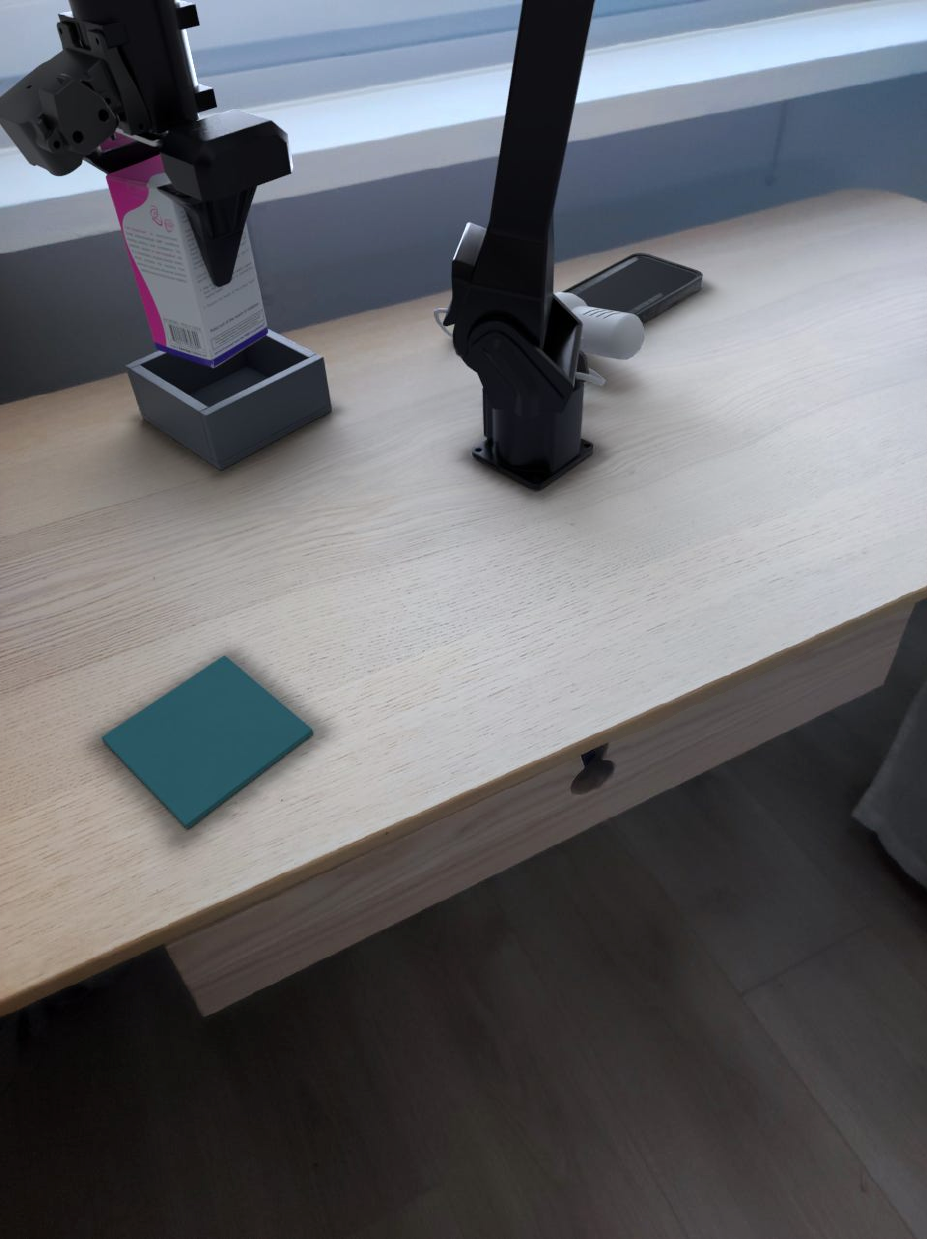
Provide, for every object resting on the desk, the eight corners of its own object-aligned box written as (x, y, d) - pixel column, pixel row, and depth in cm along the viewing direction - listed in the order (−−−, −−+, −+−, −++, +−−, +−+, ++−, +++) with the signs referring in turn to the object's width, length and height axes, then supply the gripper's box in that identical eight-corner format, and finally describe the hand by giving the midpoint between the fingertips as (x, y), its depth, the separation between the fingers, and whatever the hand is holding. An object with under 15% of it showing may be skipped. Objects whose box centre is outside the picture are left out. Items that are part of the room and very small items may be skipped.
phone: (534, 306, 79) (638, 250, 86) (534, 318, 80) (637, 261, 87) (605, 334, 75) (709, 273, 82) (604, 347, 76) (707, 285, 83)
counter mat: (313, 733, 48) (312, 729, 48) (187, 829, 44) (185, 825, 44) (226, 659, 52) (224, 654, 52) (103, 741, 48) (100, 736, 48)
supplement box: (272, 332, 64) (236, 159, 56) (213, 370, 60) (166, 191, 52) (213, 314, 66) (170, 145, 58) (152, 349, 63) (98, 175, 55)
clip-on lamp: (415, 386, 78) (562, 428, 66) (393, 316, 75) (545, 346, 62) (511, 327, 83) (666, 355, 70) (495, 258, 79) (656, 275, 67)
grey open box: (332, 410, 71) (324, 356, 68) (220, 471, 66) (205, 416, 62) (251, 365, 76) (239, 314, 73) (142, 418, 71) (124, 365, 68)
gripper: (-97, -5, 50) (15, 273, 61) (68, 45, 40) (165, 365, 51) (86, -41, 55) (159, 221, 66) (271, -4, 45) (319, 295, 56)
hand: (194, 270), depth 60 cm, fingers closed on supplement box, 6 cm apart
